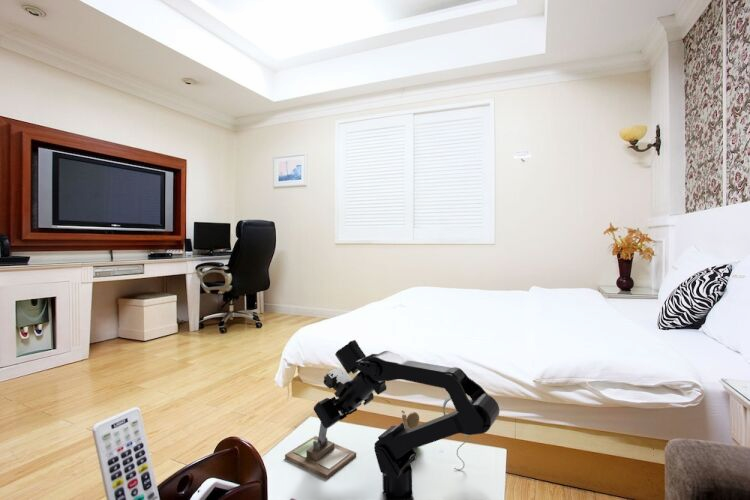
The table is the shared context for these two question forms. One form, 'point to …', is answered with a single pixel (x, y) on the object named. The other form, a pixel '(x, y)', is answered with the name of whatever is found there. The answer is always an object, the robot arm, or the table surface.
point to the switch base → (315, 466)
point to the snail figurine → (410, 420)
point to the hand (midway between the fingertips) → (329, 418)
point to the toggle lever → (322, 435)
